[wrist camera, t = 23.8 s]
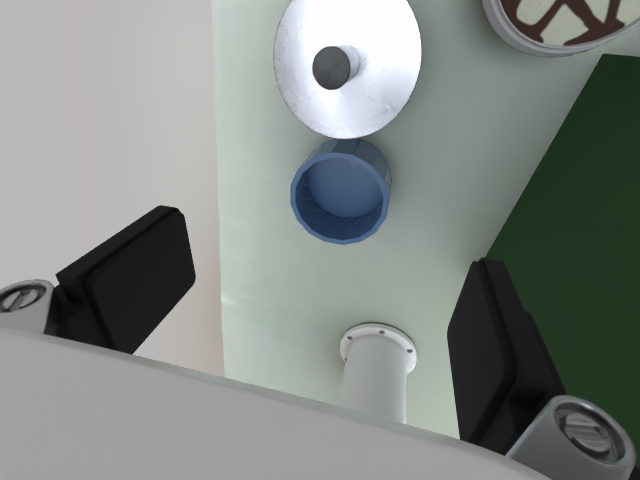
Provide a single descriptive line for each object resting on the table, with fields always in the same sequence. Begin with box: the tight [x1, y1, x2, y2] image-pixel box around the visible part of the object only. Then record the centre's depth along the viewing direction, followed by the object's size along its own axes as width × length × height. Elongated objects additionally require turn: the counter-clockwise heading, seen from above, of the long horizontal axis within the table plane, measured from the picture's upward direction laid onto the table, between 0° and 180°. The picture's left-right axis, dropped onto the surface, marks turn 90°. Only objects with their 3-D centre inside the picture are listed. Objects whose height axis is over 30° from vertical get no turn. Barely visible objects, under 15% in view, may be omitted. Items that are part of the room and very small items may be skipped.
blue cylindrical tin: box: [291, 138, 391, 245], centre depth 39 cm, size 11×11×6 cm
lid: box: [274, 0, 422, 139], centre depth 24 cm, size 12×12×6 cm
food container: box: [482, 0, 640, 57], centre depth 25 cm, size 12×6×10 cm, turn 75°
